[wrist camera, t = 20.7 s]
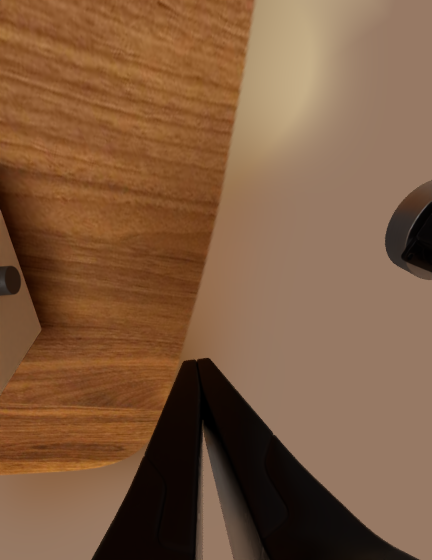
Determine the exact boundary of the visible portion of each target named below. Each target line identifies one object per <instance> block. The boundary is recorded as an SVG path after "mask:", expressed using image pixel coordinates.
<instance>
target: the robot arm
mask: <svg viewBox="0 0 432 560" xmlns="http://www.w3.org/2000/svg"><path fill="white" fill-rule="evenodd" d="M401 259H402V260H403V261H405V262H407V263H410V264H412V265H414V266H417V267H419V268H422V269H424V270H427V271H429V272H431V273H432V211H431V212H430V214H429V215H428V217H427V218H426V219H425V221H424V222H423V224H422V225H421V227H420V228H419V230H418V231H417V233H416V234H415V235H414V237H413V238H412V240H411V241H410V243H409V244H408V246H407V247H406V248H405V250H404V251H403V253H402V255H401ZM203 432H204V437H205V441H206V446H207V449H208V454H209V458H210V462H211V466H212V471H213V475H214V479H215V483H216V488H217V491H218V496H219V500H220V504H221V509H222V512H223V517H224V521H225V525H226V529H227V534H228V538H229V542H230V546H231V550H232V554H233V558H234V560H419V559H417V558H415V557H413V556H411V555H409V554H407V553H405V552H403V551H401V550H399V549H397V548H396V547H393V546H392V545H391V544H389V543H387V542H386V541H384V540H383V539H381V538H380V537H379V536H377V535H376V534H374V533H373V532H372V531H371V530H370V529H368V528H367V527H366V526H365V525H364V524H363V523H362V522H360V520H359V519H357V518H356V517H355V516H354V515H353V514H352V513H351V512H350V511H349V510H348V509H347V508H346V507H345V506H344V505H343V504H342V503H341V502H339V500H338V499H336V498H335V497H334V496H333V495H332V494H331V493H330V492H329V491H328V490H327V489H326V488H325V487H324V486H323V485H322V484H321V483H320V482H319V481H317V480H316V479H315V478H314V477H313V476H312V475H311V474H310V473H309V472H308V471H307V470H306V469H305V468H304V467H303V466H302V465H301V464H300V463H299V462H298V461H297V459H295V457H294V456H293V455H292V454H291V453H290V452H289V451H288V450H287V448H286V447H285V446H284V445H283V444H282V443H281V442H280V440H279V439H278V438H277V437H276V436H275V435H273V433H272V431H271V430H270V429H269V428H268V426H267V425H266V424H265V423H264V422H263V420H262V419H261V418H260V417H259V416H258V415H257V413H256V412H255V411H254V410H253V409H252V408H251V406H250V405H249V404H248V403H247V402H246V401H245V400H244V398H243V397H242V396H241V395H240V394H239V392H238V391H237V390H236V389H235V388H234V386H233V385H232V384H231V383H230V382H229V381H228V379H227V378H226V377H225V376H224V375H223V374H222V372H221V371H220V370H219V369H218V368H217V367H216V365H215V364H214V363H213V362H212V361H211V360H210V359H209V358H203V359H198V360H197V362H196V360H186V361H184V362H183V363H182V365H181V368H180V370H179V372H178V375H177V377H176V380H175V382H174V384H173V387H172V389H171V392H170V394H169V396H168V399H167V401H166V404H165V406H164V408H163V411H162V413H161V416H160V418H159V420H158V423H157V425H156V428H155V430H154V432H153V435H152V437H151V440H150V442H149V444H148V447H147V449H146V452H145V456H144V457H143V458H142V461H141V463H140V466H139V468H138V470H137V473H136V475H135V477H134V479H133V482H132V484H131V486H130V488H129V490H128V493H127V494H126V496H125V498H124V500H123V502H122V504H121V506H120V508H119V510H118V512H117V514H116V516H115V518H114V520H113V521H112V523H111V525H110V527H109V529H108V530H107V532H106V534H105V536H104V538H103V539H102V541H101V543H100V545H99V547H98V549H97V551H96V552H95V554H94V556H93V558H92V560H203Z"/></svg>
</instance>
